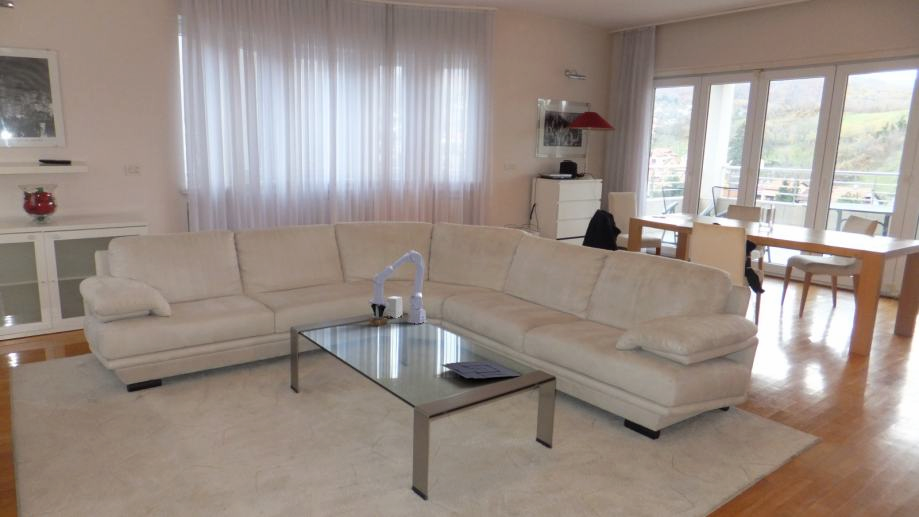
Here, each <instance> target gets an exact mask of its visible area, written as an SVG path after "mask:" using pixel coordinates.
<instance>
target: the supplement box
mask: <svg viewBox="0 0 919 517" xmlns="http://www.w3.org/2000/svg"><path fill="white" fill-rule="evenodd" d="M386 302H387V303H389V306H387V307H386V315H387V314H390V315H391V316H392V317H393V318H392V319H399V318H401V317H400V316H401V315H402V316H403V296H396V295H393V296H389V297H386ZM398 317H399V318H398Z"/></svg>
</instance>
